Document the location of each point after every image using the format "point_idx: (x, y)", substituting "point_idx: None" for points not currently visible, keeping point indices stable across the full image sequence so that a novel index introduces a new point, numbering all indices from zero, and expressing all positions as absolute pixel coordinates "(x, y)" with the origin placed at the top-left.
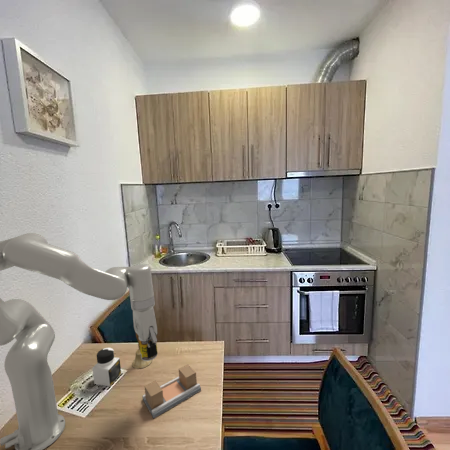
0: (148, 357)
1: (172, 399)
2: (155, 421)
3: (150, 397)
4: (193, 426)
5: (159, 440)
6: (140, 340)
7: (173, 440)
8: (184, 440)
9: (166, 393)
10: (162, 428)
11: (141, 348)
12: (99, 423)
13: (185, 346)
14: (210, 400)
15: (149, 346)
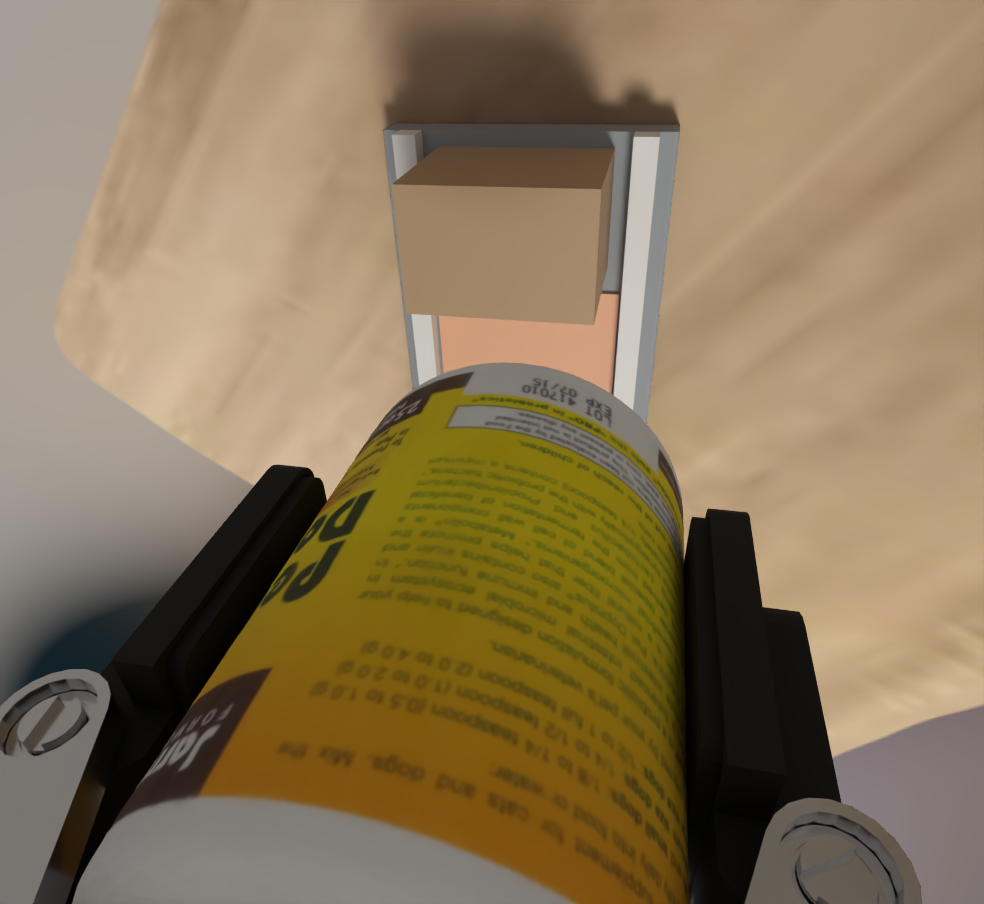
0: (271, 475)
1: (419, 332)
2: (358, 124)
3: (422, 177)
4: (196, 322)
5: (180, 77)
6: (217, 815)
7: (145, 167)
8: (122, 226)
9: (535, 328)
10: (269, 144)
11: (360, 549)
12: None
13: (973, 700)
14: (328, 494)
15: (17, 724)
